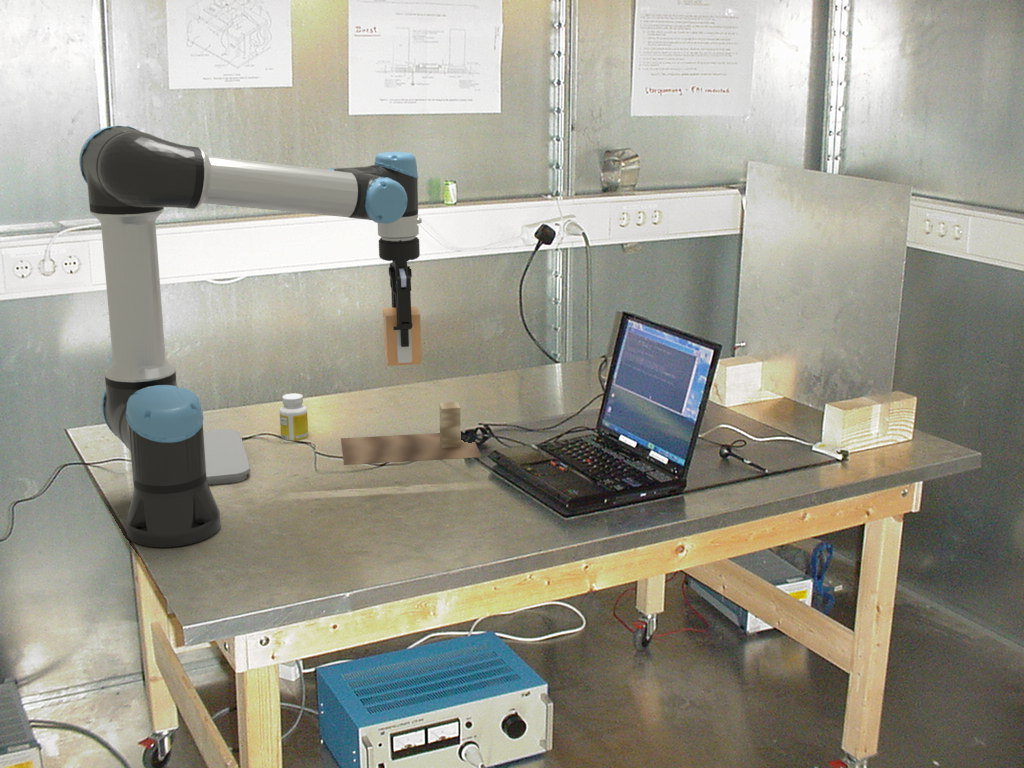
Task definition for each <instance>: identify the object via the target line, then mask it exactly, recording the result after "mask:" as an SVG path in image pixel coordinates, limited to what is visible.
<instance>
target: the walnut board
mask: <svg viewBox="0 0 1024 768" xmlns="http://www.w3.org/2000/svg"><path fill="white" fill-rule="evenodd" d="M340 444H341V445H340V446H341V451H342V458H343V459H342V460H343V466H349V465H350V466H351V465H353V466H354V465H366V464H370V465H371V464H384V463H386V464H387V463H404V462H419V461H420V462H421V461H437V460H440V461H442V460H458V459H470V458H471V459H473V458H474V459H475V458H477V459H478V458H482V454H481V453H480V449H479V448H478V445H477V443H476V441H475V442H472V443H468V442H464V441H463V440H461V447H451V448H442V446H441V443H440V432H435V433H415V434H398V435H397V434H395V435H393V434H392V435H377V436H376V435H375V436H361V437H359V436H358V437H356V436H355V437H342V438H340Z"/></svg>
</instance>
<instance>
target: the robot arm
mask: <svg viewBox="0 0 1024 768" xmlns="http://www.w3.org/2000/svg"><path fill="white" fill-rule="evenodd" d="M374 159H375V160H374V164H371V165H368V166H356V167H355V166H353V167H352V166H351V167H341V168H340V167H339V168H337V167H336V168H335V167H332V168H329V169H328V168H327V169H324V168H323V169H322V168H315V167H314V168H313V167H308V166H307V167H306V166H300V165H299V166H297V165H291V164H283V163H274V162H269V161H268V162H266V161H258V160H249V159H242V158H241V159H240V158H234V157H227V156H218V155H217V156H216V155H209V154H206V153H205V151H204V150H203V149H202V148H201V147H198V146H190V145H184V144H180V143H176V142H172V141H169V140H166V139H163V138H161V137H158V136H156V135H154V134H151V133H148V132H143V131H140V130H139V129H137V128H134V127H132V126H129V125H123V126H122V125H112V126H111V125H110V126H106V127H102V128H100V129H98V130H96V131H95V132H93V133H92V134H90V136H88V138H87V140H85V142H84V144H83V145H82V148H81V150H80V154H79V169H80V172H81V176H82V178H83V180H84V182H85V183H86V184H87V185H86V186H87V194H88V204H89V213H90V214H91V215H92V216H93V217H95V218H96V219H97V220H98V221H99V223H100V226H101V227H100V231H101V239H102V240H101V241H102V251H103V261H104V273H105V285H106V286H105V287H106V296H107V307H108V318H109V329H110V340H111V341H110V343H111V354H112V363H111V364H110V366H108V368H106V370H105V372H104V379H105V380H104V381H105V383H104V384H105V390H104V391H103V395H102V400H101V412H102V415H103V419H104V422H105V424H106V426H107V427H108V429H109V430H110V431H111V433H113V435H114V436H115V437H117V438H118V439H119V440H120V441H121V443H123V444H124V446H125V447H126V448H127V449H128V450H129V453H130V461H131V470H132V481H133V492H132V495H131V496H132V497H131V499H130V503H129V507H128V512H127V515H126V519H125V526H126V535H127V538H128V539H129V540H130V541H131V542H132V543H135V544H138V545H141V546H144V547H151V548H175V547H184V546H188V545H191V544H195V543H199V542H202V541H205V540H206V539H209V538H211V537H212V536H214V535H215V534H217V533H218V531H219V530H220V529H221V524H222V523H221V512H220V509H219V506H218V504H217V502H216V499H215V497H214V495H213V493H212V491H211V489H210V485H208V484H207V478H206V463H205V448H204V434H203V431H204V413H203V409H202V405H201V401H200V398H199V397H198V395H197V394H196V393H195V392H194V391H192V390H190V389H188V388H185V387H183V386H182V387H178V385H177V384H178V382H177V371H176V370H177V369H176V367H175V365H173V364H172V363H171V362H170V361H169V360H167V358H166V348H165V335H164V334H165V333H164V320H163V319H164V318H163V308H162V307H163V306H162V304H163V303H162V293H161V282H160V281H161V279H160V267H159V266H160V265H159V255H158V240H157V226H156V220H157V218H158V217H159V216H160V215H161V214H162V213H163V212H164V211H165V209H164V208H177V209H179V208H180V209H192V210H197V209H198V208H199V207H200V206H201V205H202V204H205V205H206V204H209V205H216V206H217V205H218V206H225V207H226V206H227V207H228V206H229V207H238V208H239V207H240V208H247V209H248V208H249V209H258V210H269V211H270V210H271V211H277V212H279V211H280V212H290V213H298V214H299V213H301V214H310V215H321V216H328V217H329V216H331V217H340V218H341V217H342V218H348V219H356V220H358V219H359V220H368V221H372V222H374V223H375V224H377V235H378V236H379V237H380V238H379V239H378V256H379V259H381V260H383V261H387V262H390V264H389V267H388V275H389V285H390V290H391V308H395V307H396V313H397V327H393V329H394V330H396V334H397V361H398V363H409V362H412V339H411V328H412V326H413V325H412V316H411V307H412V295H411V291H412V276H413V275H412V273H413V272H412V269H411V266H409V265H408V262H409V261H414V260H417V259H419V257H420V251H421V250H420V249H421V248H420V239H419V237H417V236H418V235H419V234H420V233H419V231H420V230H419V227H420V225H419V224H422V223H423V221H422V218H420V217H419V195H418V192H419V191H418V190H419V189H418V188H419V187H418V186H419V185H418V184H419V183H418V180H419V174H418V166H417V165H418V164H417V159H416V156H415V155H414V154H413V153H411V152H406V151H384V152H379V153H377V154H376V155H375V158H374Z"/></svg>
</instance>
